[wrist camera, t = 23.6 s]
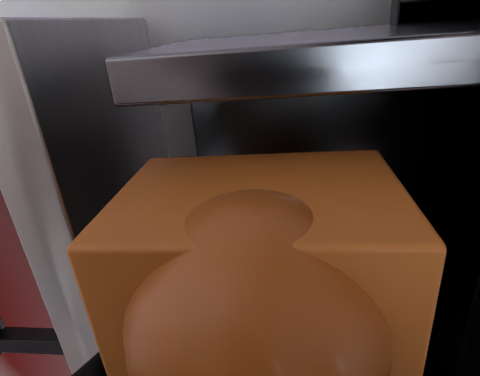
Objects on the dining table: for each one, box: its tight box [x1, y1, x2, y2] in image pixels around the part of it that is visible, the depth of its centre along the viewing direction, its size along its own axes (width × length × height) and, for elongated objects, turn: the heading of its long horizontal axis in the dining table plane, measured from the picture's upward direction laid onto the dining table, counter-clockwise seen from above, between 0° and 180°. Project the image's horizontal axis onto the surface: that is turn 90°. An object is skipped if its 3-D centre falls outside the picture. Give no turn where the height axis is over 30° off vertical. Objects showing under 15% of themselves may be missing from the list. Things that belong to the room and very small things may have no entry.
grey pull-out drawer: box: [0, 17, 480, 375], centre depth 11 cm, size 19×12×6 cm, turn 94°
